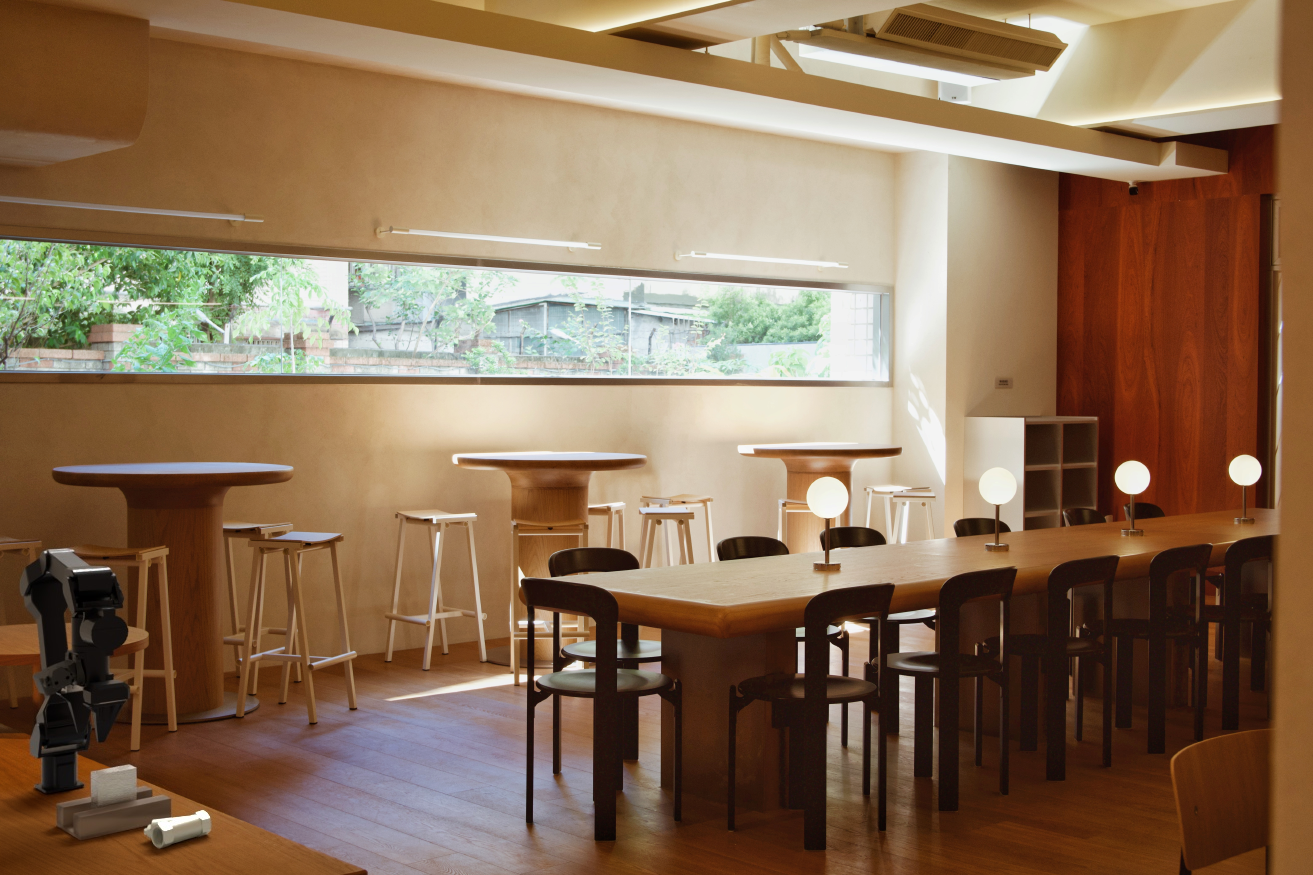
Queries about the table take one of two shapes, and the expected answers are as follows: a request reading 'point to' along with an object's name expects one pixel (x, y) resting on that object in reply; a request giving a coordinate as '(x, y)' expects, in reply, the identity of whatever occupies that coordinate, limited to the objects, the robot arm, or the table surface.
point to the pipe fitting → (178, 828)
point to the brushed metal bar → (113, 786)
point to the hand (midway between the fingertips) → (90, 737)
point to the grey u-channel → (111, 815)
